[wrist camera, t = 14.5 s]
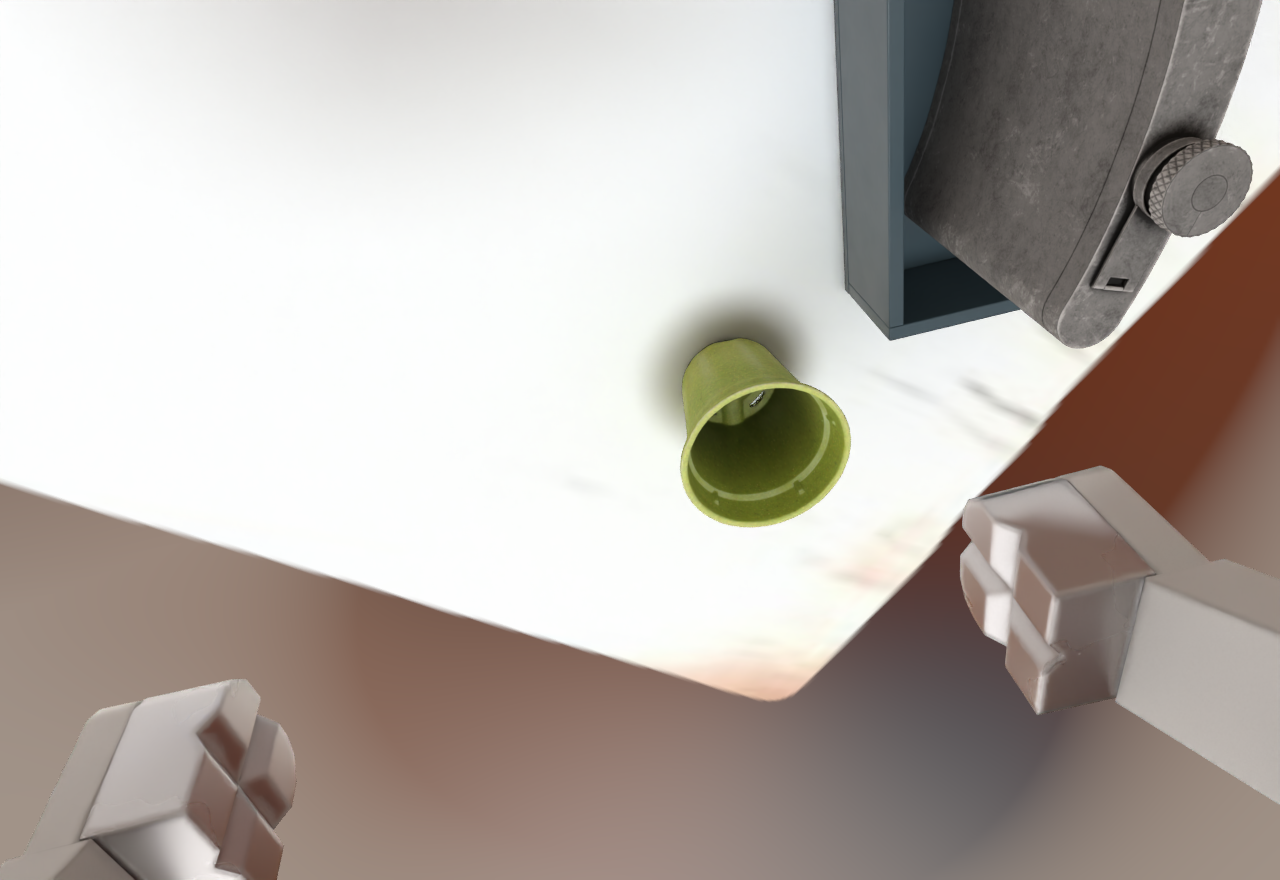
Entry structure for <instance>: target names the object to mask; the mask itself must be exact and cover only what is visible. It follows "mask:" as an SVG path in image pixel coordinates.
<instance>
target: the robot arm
mask: <svg viewBox="0 0 1280 880" xmlns="http://www.w3.org/2000/svg"><path fill="white" fill-rule="evenodd" d="M962 527H963V528H964V530H965V531H966V533H967V534H968V535H969V537H970V538H971V540H972V542H971V543H970V544H969V545H968V547H967V548H966V549H965V551H964V552H963V553H962V554H961V556H960V579H961V583H962V587H963V592H964V596H965V600H966V602H967V604H968V607H969V609H970V611H971V613H972V615H973V617H974V619H975V621H976V622H977V624H978V625H979V627H980V628H981V630H982V632H983V633H984V635H986V636H988V637H989V638H991V639H993V640H995V641H997V642H999V643H1001V644H1003V645H1005V646H1007V652H1006V662H1005V667H1006V668H1007V670H1008V671H1009V673H1010V674H1011V676H1012V677H1013V679H1014V680H1015V682H1016V683H1017V685H1018V686H1019V688H1020V689H1021V691H1022V692H1023V694H1024V695H1025V697H1026V698H1027V700H1028V701H1029V703H1030V704H1031V706H1032V707H1033V709H1034V710H1035V712H1036V713H1037V715H1040V714H1045V713H1049V712H1054V711H1058V710H1063V709H1067V708H1072V707H1076V706H1081V705H1085V704H1090V703H1094V702H1099V701H1103V700H1108V699H1112V698H1116V701H1115V702H1116V703H1118V704H1119V705H1121V706H1123V707H1124V708H1126V709H1127V710H1129V711H1131V712H1132V713H1134V714H1135V715H1137V716H1139V717H1140V718H1142V719H1144V720H1145V721H1147V722H1148V723H1150V724H1151V725H1153V726H1155V727H1156V728H1158V729H1159V730H1161V731H1163V732H1164V733H1166V734H1167V735H1169V736H1171V737H1173V738H1174V739H1175V740H1177V741H1179V742H1180V743H1182V744H1184V745H1185V746H1187V747H1188V748H1190V749H1191V750H1193V751H1195V752H1196V753H1198V754H1199V755H1201V756H1203V757H1204V758H1206V759H1207V760H1209V761H1211V762H1212V763H1214V764H1215V765H1217V766H1219V767H1220V768H1222V769H1223V770H1225V771H1227V772H1228V773H1230V774H1231V775H1233V776H1235V777H1236V778H1238V779H1239V780H1241V781H1243V782H1244V783H1246V784H1248V785H1249V786H1251V787H1252V788H1254V789H1255V790H1257V791H1259V792H1260V793H1262V794H1263V795H1265V796H1267V797H1268V798H1270V799H1271V800H1273V801H1275V802H1276V803H1278V804H1279V805H1280V579H1279V578H1276V577H1273V576H1270V575H1268V574H1265V573H1262V572H1259V571H1257V570H1254V569H1251V568H1248V567H1246V566H1243V565H1240V564H1238V563H1235V562H1232V561H1229V560H1227V559H1222V560H1217V561H1212V562H1210V561H1209V560H1208V559H1207V558H1206V557H1205V556H1204V555H1203V554H1202V553H1200V552H1199V551H1198V550H1197V549H1196V548H1195V547H1194V546H1193V545H1192V544H1191V543H1190V542H1189V541H1188V540H1186V538H1184V537H1183V536H1182V535H1181V534H1180V533H1179V532H1178V531H1177V530H1176V529H1175V528H1174V527H1173V526H1172V525H1171V524H1170V523H1168V522H1167V521H1166V520H1165V519H1164V518H1163V517H1162V516H1161V515H1160V514H1159V513H1158V512H1157V511H1156V510H1154V508H1152V507H1151V506H1150V505H1149V504H1148V503H1147V502H1146V501H1145V500H1144V499H1143V498H1142V497H1141V496H1140V495H1139V494H1138V493H1136V492H1135V491H1134V490H1133V489H1132V488H1131V487H1130V486H1129V485H1128V484H1127V483H1126V482H1125V481H1124V480H1123V479H1122V478H1120V477H1119V476H1118V475H1117V474H1116V473H1115V472H1114V471H1113V470H1111V469H1108V468H1106V467H1103V466H1098V467H1094V468H1090V469H1087V470H1082V471H1079V472H1074V473H1070V474H1066V475H1062V476H1059V477H1056V478H1055V479H1047V480H1044V481H1040V482H1035V483H1032V484H1028V485H1024V486H1020V487H1016V488H1012V489H1008V490H1004V491H1000V492H996V493H992V494H988V495H984V496H980V497H976V498H972V499H969V500H968V502H967V504H966V506H965V508H964V510H963V522H962ZM260 700H261V697H260V696H259V695H258V694H257V692H256V691H255V690H254V688H253V687H252V686H251V685H250V683H249V682H248V681H247V680H246V679H232V680H228V681H223V682H219V683H214V684H209V685H205V686H200V687H196V688H191V689H186V690H182V691H177V692H173V693H168V694H164V695H159V696H155V697H150V698H146V699H144V700H141V701H136V702H131V703H127V704H122V705H118V706H113V707H108V708H104V709H100V710H99V711H97V712H96V713H95V714H94V715H93V716H92V717H90V718H89V719H88V720H87V721H86V723H85V725H84V727H83V729H82V731H81V733H80V735H79V737H78V739H77V741H76V743H75V746H74V748H73V750H72V752H71V754H70V756H69V758H68V761H67V763H66V765H65V767H64V769H63V771H62V773H61V775H60V777H59V779H58V782H57V784H56V786H55V788H54V790H53V792H52V794H51V796H50V798H49V801H48V803H47V805H46V807H45V809H44V811H43V813H42V815H41V818H40V819H39V822H38V824H37V826H36V828H35V830H34V832H33V834H32V836H31V838H30V841H29V843H28V845H27V847H26V849H25V852H24V853H23V855H22V856H19V857H15V858H12V859H8V860H6V861H5V862H4V863H3V864H2V865H1V866H0V880H277V876H278V871H279V866H280V862H281V857H282V852H283V847H284V845H283V843H282V842H281V840H280V839H279V837H278V835H277V834H276V832H275V831H274V828H275V827H276V826H277V825H278V824H279V822H280V821H281V820H282V818H283V817H284V816H285V815H286V813H287V812H288V811H289V810H290V808H291V807H292V802H293V797H294V791H295V787H296V769H295V755H294V752H293V749H292V746H291V744H290V741H289V738H288V736H287V734H286V733H285V731H284V730H283V729H282V727H281V726H280V724H279V723H278V722H275V721H273V720H270V719H268V718H266V717H263V716H261V715H258V714H257V712H258V708H259V704H260Z"/></svg>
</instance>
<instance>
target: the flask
mask: <svg viewBox="0 0 1280 880" xmlns="http://www.w3.org/2000/svg"><path fill="white" fill-rule="evenodd" d="M1261 4H1262V0H954V4H953V10H952V17H951V23H950V28H949V34H948V39H947V44H946V49H945V53H944V58H943V62H942V66H941V70H940V74H939V78H938V82H937V86H936V89H935V93H934V97H933V101H932V104H931V108H930V111H929V114H928V118H927V121H926V124H925V127H924V130H923V133H922V136H921V138H920V141H919V144H918V147H917V149H916V152H915V155H914V157H913V159H912V162H911V164H910V167H909V169H908V171H907V174H906V176H905V178H904V215H906V216H907V217H908V218H909V219H911V220H912V221H913V222H914V223H915V224H917V225H918V226H919V227H920V228H922V229H923V230H924V231H925V232H927V233H928V234H929V235H930V236H931V237H933V238H934V239H935V240H936V241H938V242H939V243H940V244H941V245H943V246H944V247H945V248H946V249H947V250H949V251H950V252H951V253H952V254H954V255H955V256H956V257H957V258H959V259H960V260H961V261H962V262H963V263H965V264H966V265H967V266H968V267H970V268H971V269H972V270H973V271H975V272H976V273H977V274H978V275H979V276H981V277H982V278H983V279H984V280H986V281H987V282H988V283H989V284H991V285H992V286H993V287H994V288H995V289H997V290H998V291H999V292H1000V293H1002V294H1003V295H1004V296H1005V297H1007V298H1008V299H1009V300H1010V301H1011V302H1013V303H1014V304H1015V305H1016V306H1018V307H1019V308H1020V309H1021V310H1023V311H1024V312H1025V313H1026V314H1027V315H1029V316H1030V317H1031V318H1032V319H1034V320H1035V321H1036V322H1037V323H1039V324H1040V325H1041V326H1042V327H1043V328H1045V329H1046V330H1047V331H1048V332H1050V333H1051V334H1052V335H1053V336H1055V337H1056V338H1057V339H1058V340H1059V341H1061V342H1062V343H1063V344H1065V345H1066V346H1068V347H1071V348H1086V347H1090V346H1092V345H1095V344H1097V343H1099V342H1100V341H1102V340H1104V339H1105V338H1106V337H1107V336H1109V335H1110V334H1111V333H1112V332H1113V331H1114V330H1115V328H1116V327H1117V326H1118V324H1119V323H1120V321H1121V320H1122V318H1123V317H1124V315H1125V313H1126V312H1127V310H1128V309H1129V307H1130V306H1131V304H1132V303H1133V301H1134V299H1135V298H1136V296H1137V294H1138V293H1139V291H1140V289H1141V288H1142V286H1143V284H1144V283H1145V281H1146V279H1147V278H1148V276H1149V274H1150V272H1151V271H1152V269H1153V267H1154V265H1155V263H1156V262H1157V260H1158V258H1159V256H1160V254H1161V252H1162V251H1163V249H1164V247H1165V245H1166V243H1167V241H1168V239H1169V237H1170V235H1171V234H1172V233H1173V234H1174V235H1179V236H1181V237H1193V236H1199V235H1201V234H1204V233H1208V232H1209V231H1210V230H1212V229H1215V228H1217V227H1218V226H1219V225H1220V224H1222V223H1224V222H1225V221H1226V220H1227V218H1229V217H1230V216H1232V214H1233V213H1234V212H1235V210H1236V209H1237V208H1238V207H1239V206H1240V204H1241V202H1242V201H1243V200H1244V199H1245V196H1246V193H1247V192H1248V190H1249V187H1250V183H1251V181H1252V174H1253V170H1252V162H1251V160H1250V156H1249V155H1247V153H1246V151H1245V150H1242V148H1241V147H1238V146H1235V145H1233V144H1231V143H1226V142H1224V141H1223V140H1216V139H1215V138H1216V135H1217V133H1218V130H1219V128H1220V126H1221V123H1222V121H1223V118H1224V116H1225V113H1226V110H1227V108H1228V105H1229V102H1230V100H1231V97H1232V94H1233V92H1234V89H1235V86H1236V83H1237V80H1238V78H1239V75H1240V72H1241V69H1242V66H1243V63H1244V60H1245V57H1246V54H1247V51H1248V48H1249V45H1250V41H1251V38H1252V35H1253V32H1254V28H1255V25H1256V22H1257V18H1258V15H1259V11H1260V8H1261Z"/></svg>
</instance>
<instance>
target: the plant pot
mask: <svg viewBox="0 0 1280 880" xmlns="http://www.w3.org/2000/svg"><path fill="white" fill-rule="evenodd" d="M762 391H764V395H763V397H762V399H761V400H760V402H759V403H757V404H756V405H755V406H753V407H750V404H751V403H752V402H753V401H754V400H755V399H756V398H757V397H758V396H759V394H761V393H762ZM682 395H683V404H684V411H685V419H686V428H687V440H686V442H685V445H684V448H683V451H682V455H681V465H680V471H681V478H682V483H683V486H684V489H685V492H686V494H687V496H688V497H689V499H690V500H691V502H692V503H693V504H694V505H695V506H696V507H697V509H699V510H700V511H701V512H702V513H703V514H705V515H706V516H708V517H710V518H712V519H714V520H716V521H718V522H720V523H723V524H727V525H731V526H738V527H761V526H768V525H773V524H777V523H781V522H784V521H786V520H789V519H791V518H794V517H796V516H798V515H800V514H802V513H804V512H805V511H807V510H808V509H810V508H812V507H813V506H814V505H816V504H817V503H818V502H820V501H821V500H822V499H823V498H824V497H825V496H826V495H827V494H828V493H829V492H830V490H831V489H832V488H833V487H834V485H835V484H836V483H837V481H838V480H839V478H840V477H841V475H842V473H843V470H844V468H845V466H846V463H847V461H848V458H849V454H850V447H851V436H850V429H849V426H848V422H847V420H846V417H845V415H844V414H843V412H842V410H841V409H840V408H839V406H838V405H837V404H836V403H835V402H834V401H833V400H832V399H831V398H830V397H829V396H827V395H826V394H825V393H823V392H821V391H820V390H818V389H816V388H814V387H811V386H809V385H806V384H803V383H800V382H799V381H798V380H797V379H796V378H795V377H794V376H793V375H792V374H791V373H790V372H789V371H788V370H787V369H786V368H785V367H784V366H783V365H782V364H781V363H780V362H779V361H778V360H777V359H776V358H775V357H774V356H773V355H772V354H771V353H770V352H769V351H768V350H767V349H766V348H765V347H764V346H762V345H761V344H759V343H757V342H754V341H752V340H748V339H743V338H738V339H734V340H729V341H723V342H718V343H713V344H711V345H709V346H707V347H706V348H704V349H703V350H702V351H700V352H699V353H698V354H697V355H696V356H695V357H694V358H693V359H692V361H691V362H690V364H689V365H688V367H687V369H686V371H685V374H684V377H683V382H682ZM715 413H717V414H716V415H714V414H715Z"/></svg>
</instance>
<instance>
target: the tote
mask: <svg viewBox="0 0 1280 880" xmlns="http://www.w3.org/2000/svg"><path fill="white" fill-rule="evenodd" d="M953 4H954V0H834V8H835V33H836V58H837V83H838V108H839V134H840V159H841V184H842V209H843V234H844V259H845V284H846V291H847V292H848V294H850V296H851V297H852V298H853V299H854V300H855V301H856V302H857V304H858V305H859V306H860V307H861V308H862V309H863V311H864V312H865V313H866V314H867V315H868V316H869V317H870V319H871V320H872V321H873V322H874V323H875V324H876V326H877V327H878V328H879V329H880V330H881V331H882V332H883V334H884V335H885V336H886V337H887V338H888V339H889V340H890V341H891V340H896V339H900V338H904V337H908V336H912V335H916V334H921V333H925V332H929V331H933V330H937V329H941V328H945V327H950V326H954V325H958V324H962V323H966V322H970V321H975V320H979V319H983V318H987V317H991V316H995V315H1000V314H1004V313H1008V312H1012V311H1016V310H1020V308H1019V307H1018V306H1016V305H1015V304H1014V303H1013V302H1011V301H1010V300H1009V299H1008V298H1007V297H1005V296H1004V295H1003V294H1002V293H1000V292H999V291H998V290H997V289H995V288H994V287H993V286H992V285H991V284H989V283H988V282H987V281H986V280H984V279H983V278H982V277H981V276H979V275H978V274H977V273H976V272H975V271H973V270H972V269H971V268H970V267H968V266H967V265H966V264H965V263H963V262H962V261H961V260H960V259H959V258H957V257H956V256H955V255H954V254H952V253H951V252H950V251H949V250H947V249H946V248H945V247H944V246H943V245H941V244H940V243H939V242H938V241H936V240H935V239H934V238H933V237H931V236H930V235H929V234H928V233H927V232H925V231H924V230H923V229H922V228H920V227H919V226H918V225H917V224H915V223H914V222H913V221H912V220H911V219H909V218H908V217H907V216H906V215H904V178H905V176H906V174H907V171H908V169H909V167H910V164H911V162H912V159H913V157H914V155H915V152H916V149H917V147H918V144H919V141H920V138H921V136H922V133H923V130H924V127H925V124H926V121H927V118H928V114H929V111H930V108H931V104H932V101H933V97H934V93H935V89H936V86H937V82H938V78H939V74H940V70H941V66H942V62H943V58H944V53H945V49H946V44H947V39H948V34H949V28H950V23H951V17H952V10H953Z"/></svg>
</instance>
